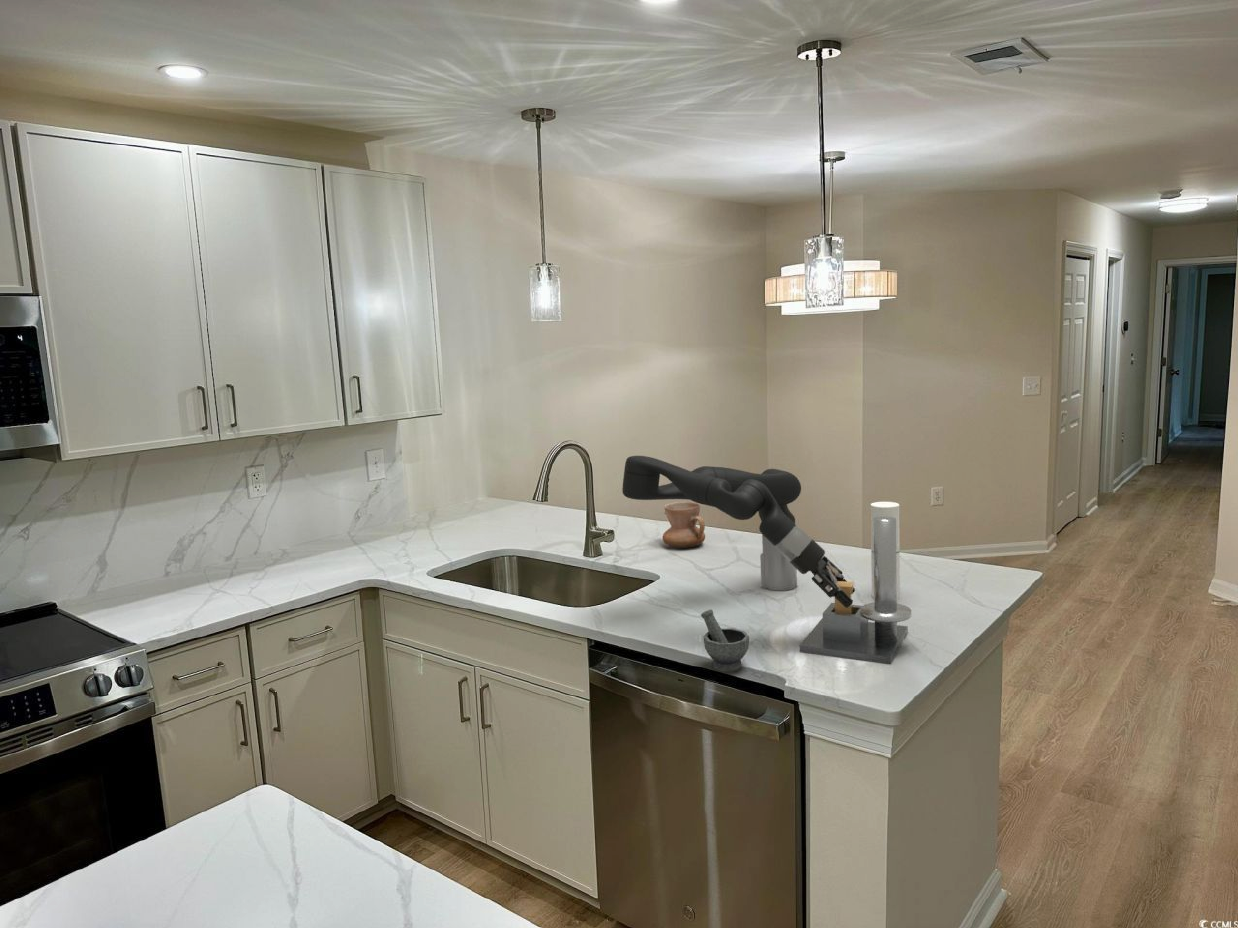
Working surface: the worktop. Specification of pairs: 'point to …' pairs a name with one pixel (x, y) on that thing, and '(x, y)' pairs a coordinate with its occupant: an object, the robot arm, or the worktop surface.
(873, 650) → the grey fixture with cylinder
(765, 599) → the worktop surface
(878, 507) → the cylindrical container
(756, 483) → the robot arm
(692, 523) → the ceramic jug
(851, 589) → the orange square peg
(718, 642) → the mortar and pestle
